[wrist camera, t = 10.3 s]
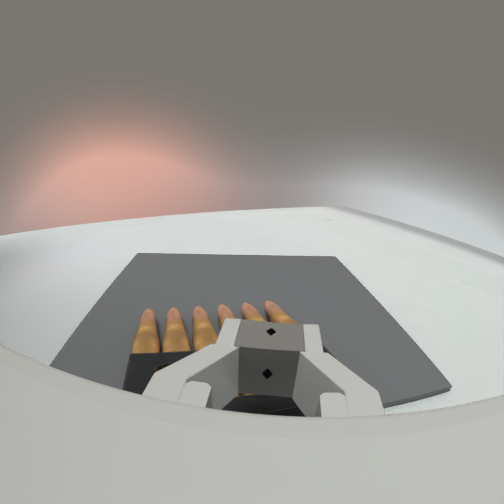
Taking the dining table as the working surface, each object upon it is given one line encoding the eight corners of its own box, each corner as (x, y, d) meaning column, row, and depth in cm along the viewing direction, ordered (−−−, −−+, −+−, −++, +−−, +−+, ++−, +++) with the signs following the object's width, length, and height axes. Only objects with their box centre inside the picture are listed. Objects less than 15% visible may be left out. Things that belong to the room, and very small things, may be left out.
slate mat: (138, 256, 34) (137, 253, 34) (334, 259, 36) (335, 256, 36) (35, 395, 12) (32, 390, 12) (449, 390, 14) (452, 385, 14)
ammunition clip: (356, 415, 12) (276, 311, 23) (365, 387, 12) (278, 289, 23) (126, 451, 10) (138, 320, 21) (115, 424, 9) (135, 298, 20)
